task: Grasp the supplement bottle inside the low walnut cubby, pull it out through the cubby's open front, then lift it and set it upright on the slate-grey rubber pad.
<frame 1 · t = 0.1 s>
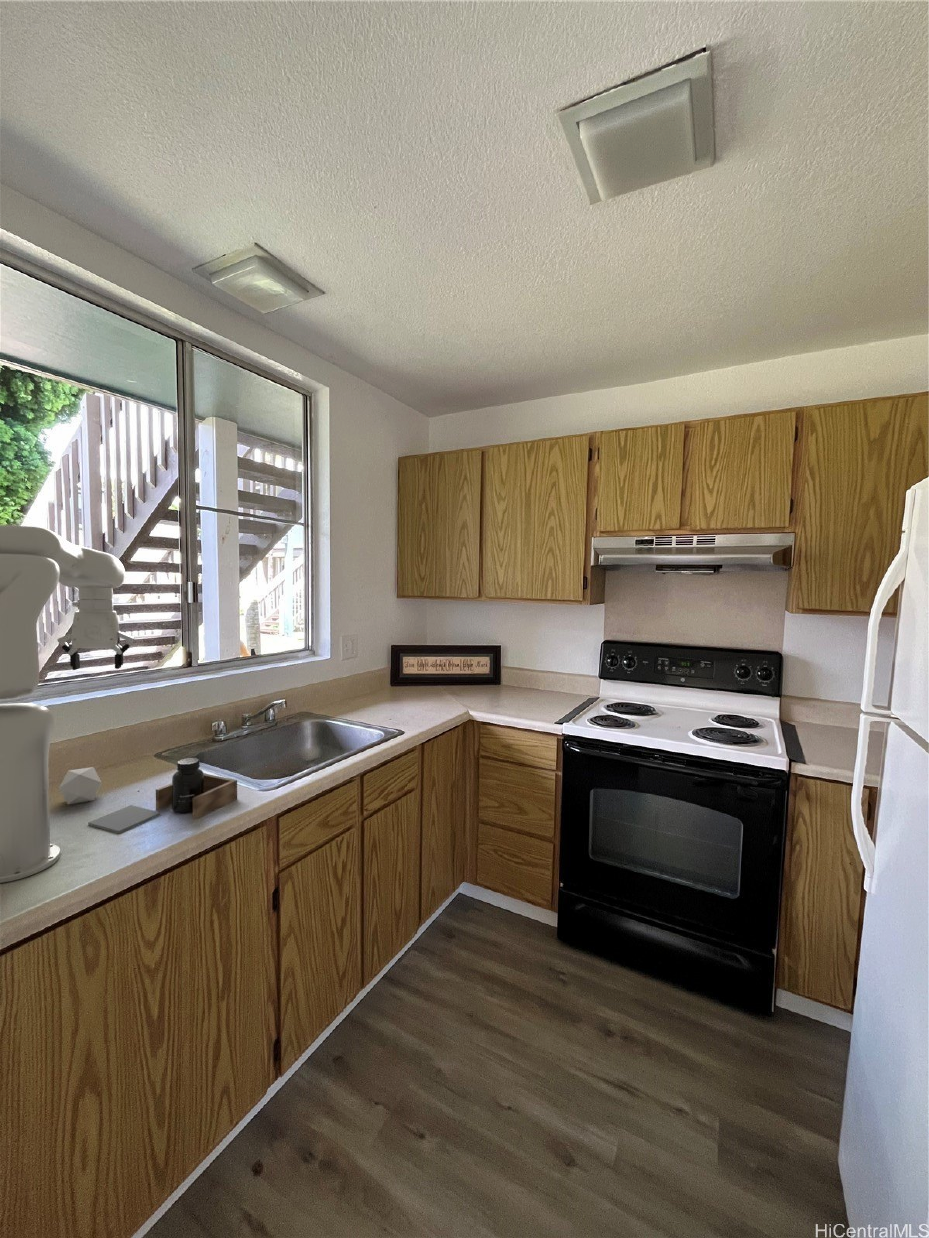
hand: (97, 668, 138), 31 cm above the worktop, tool pointing down, fingers open, 9 cm apart
supplement bottle: (188, 809, 124), on the worktop
cubby: (197, 804, 126), on the worktop
die: (81, 801, 127), on the worktop
pad: (125, 819, 117), on the worktop
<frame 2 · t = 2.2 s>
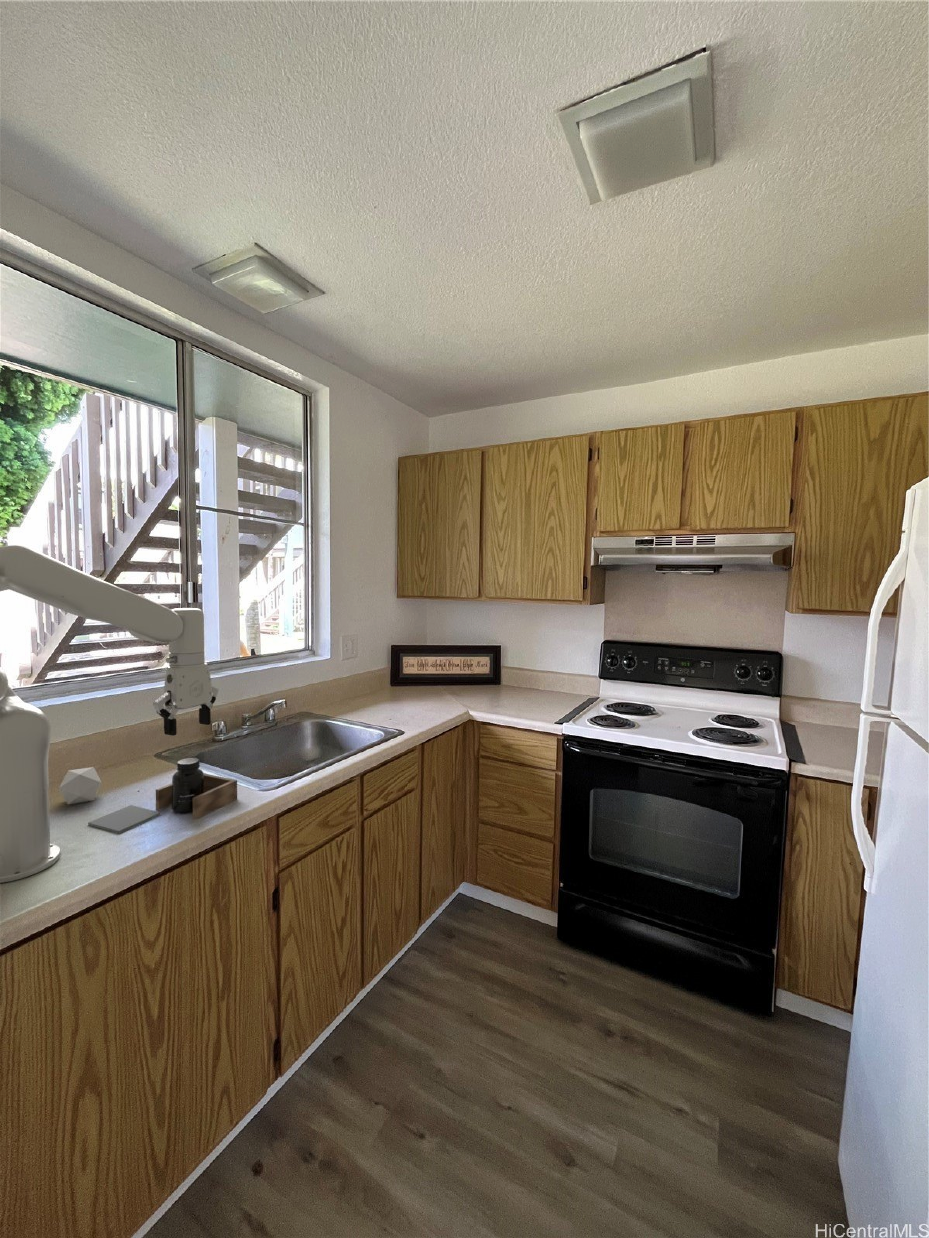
hand: (188, 729, 122), 20 cm above the worktop, tool pointing down, fingers open, 9 cm apart
nothing on the worktop moved.
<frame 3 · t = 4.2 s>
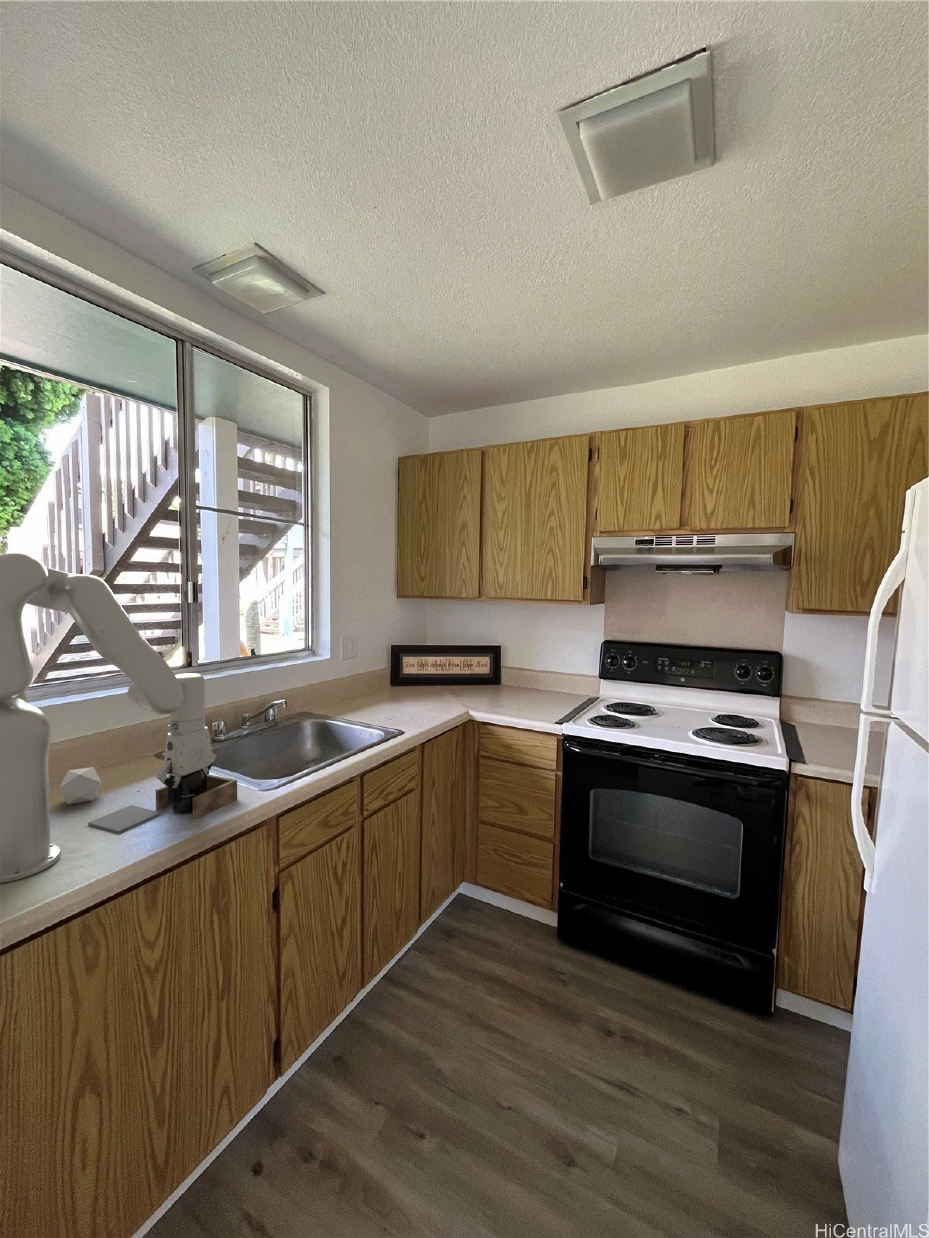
hand: (188, 795, 123), 3 cm above the worktop, tool pointing down, fingers closed on supplement bottle, 6 cm apart
supplement bottle: (188, 809, 123), on the worktop, touching gripper
everything else where it was.
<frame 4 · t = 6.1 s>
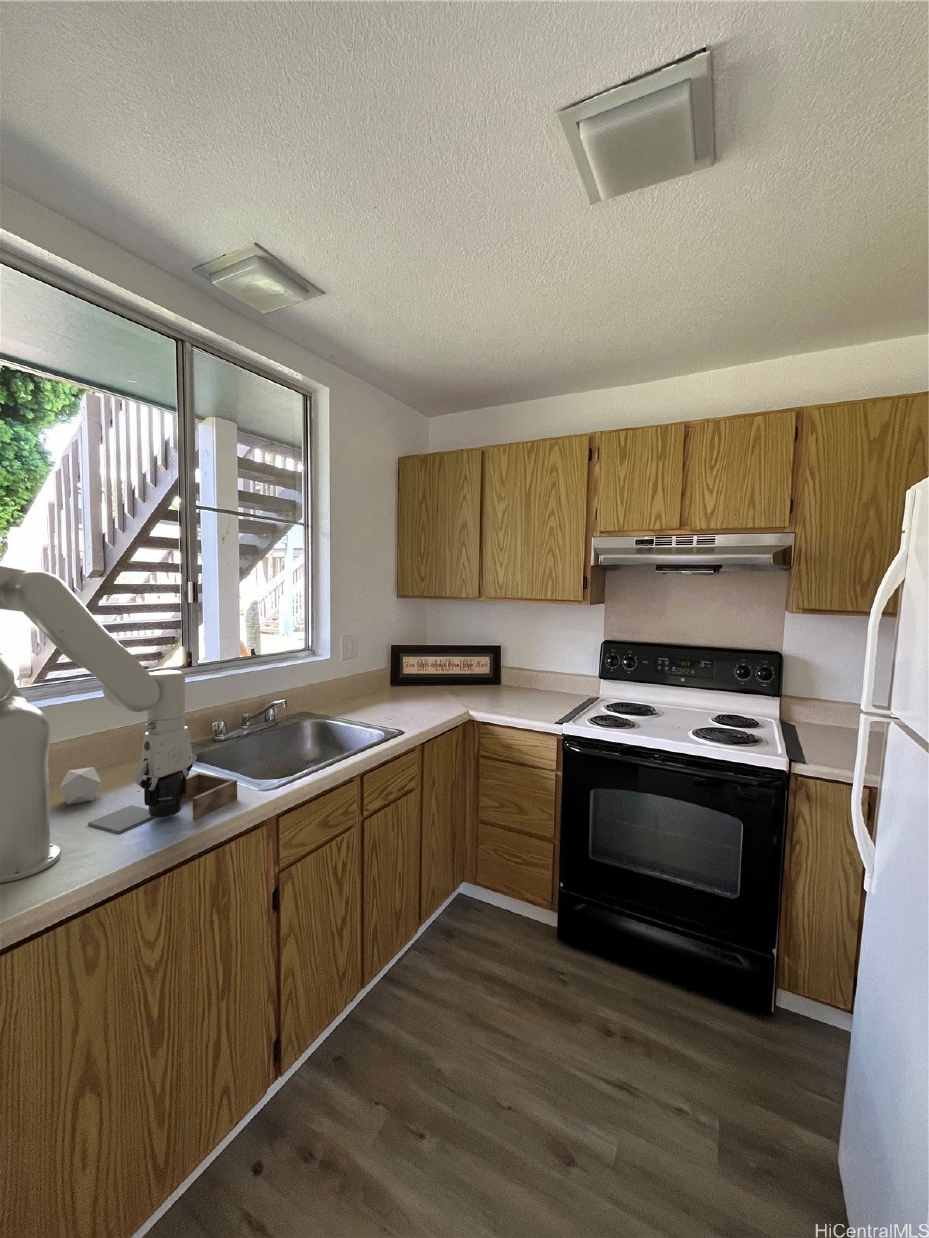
hand: (165, 798, 118), 5 cm above the worktop, tool pointing down, fingers closed on supplement bottle, 6 cm apart
supplement bottle: (165, 812, 118), point 1 cm above the worktop, touching gripper
everything else where it was.
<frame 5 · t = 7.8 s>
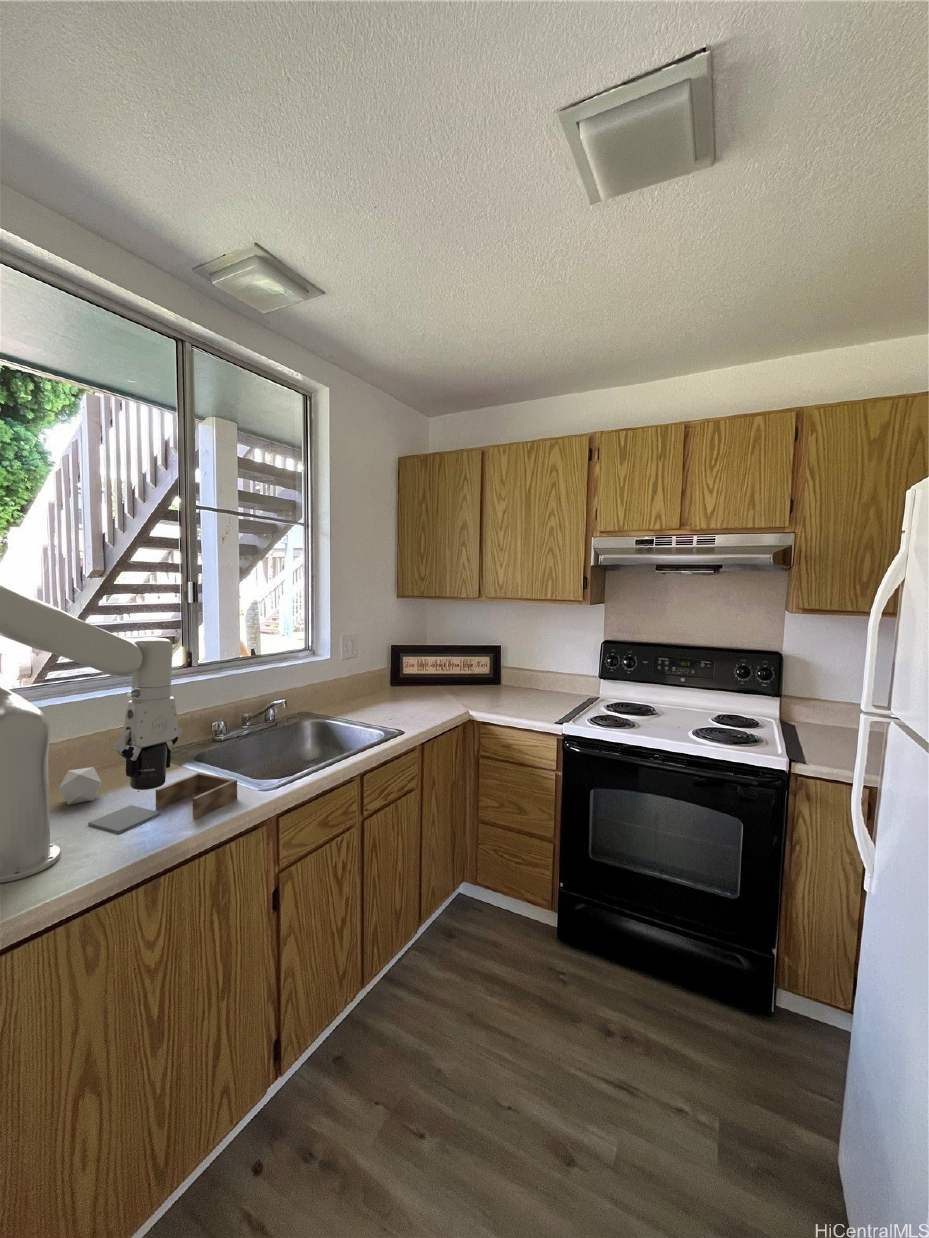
hand: (148, 770, 114), 13 cm above the worktop, tool pointing down, fingers closed on supplement bottle, 6 cm apart
supplement bottle: (148, 786, 114), point 9 cm above the worktop, touching gripper
everything else where it was.
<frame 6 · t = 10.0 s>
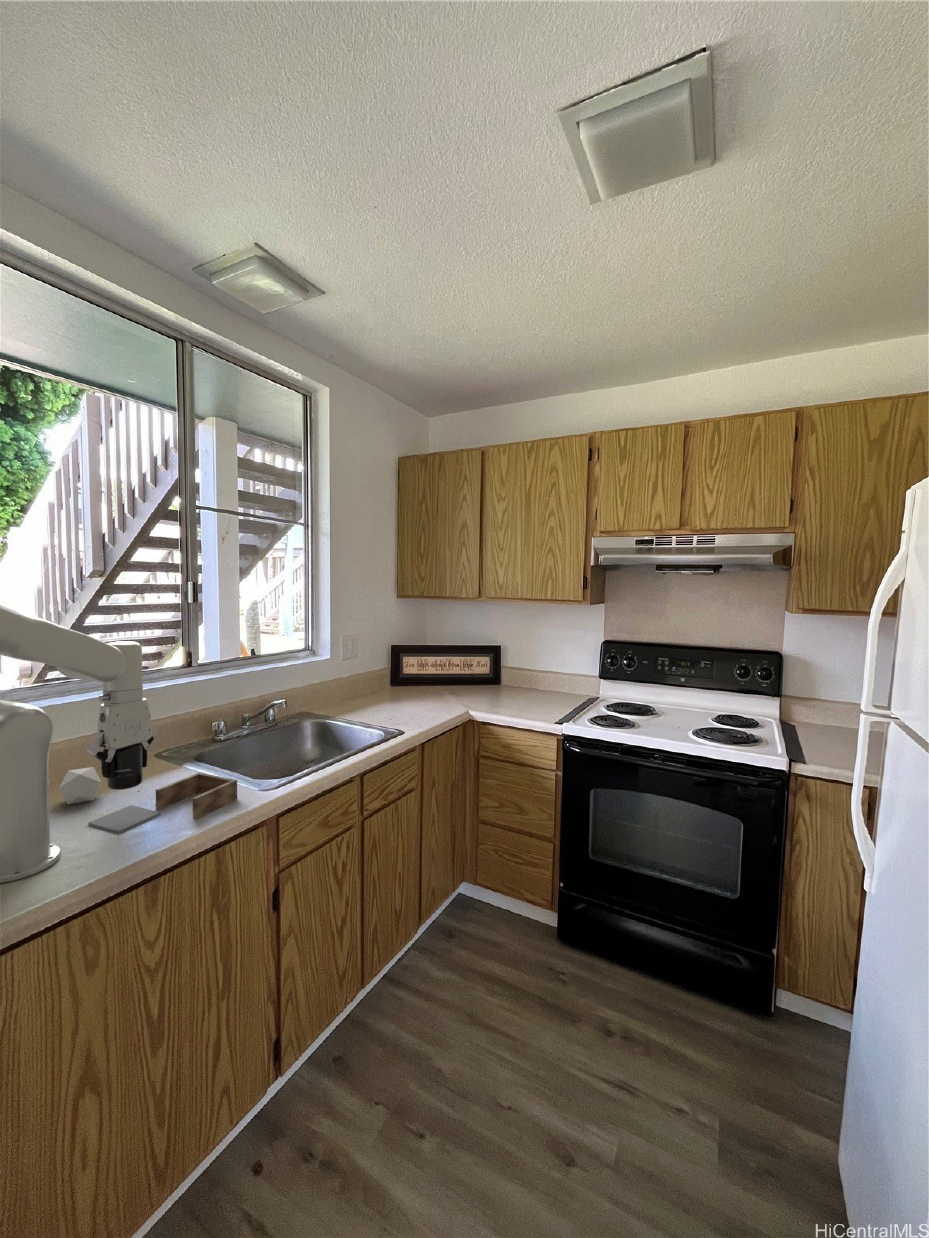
hand: (125, 771, 116), 11 cm above the worktop, tool pointing down, fingers closed on supplement bottle, 6 cm apart
supplement bottle: (125, 785, 117), point 8 cm above the worktop, touching gripper
everything else where it was.
when the fingers open (5 cm above the worktop, at t = 11.6 s): supplement bottle drops 1 cm, resting on pad.
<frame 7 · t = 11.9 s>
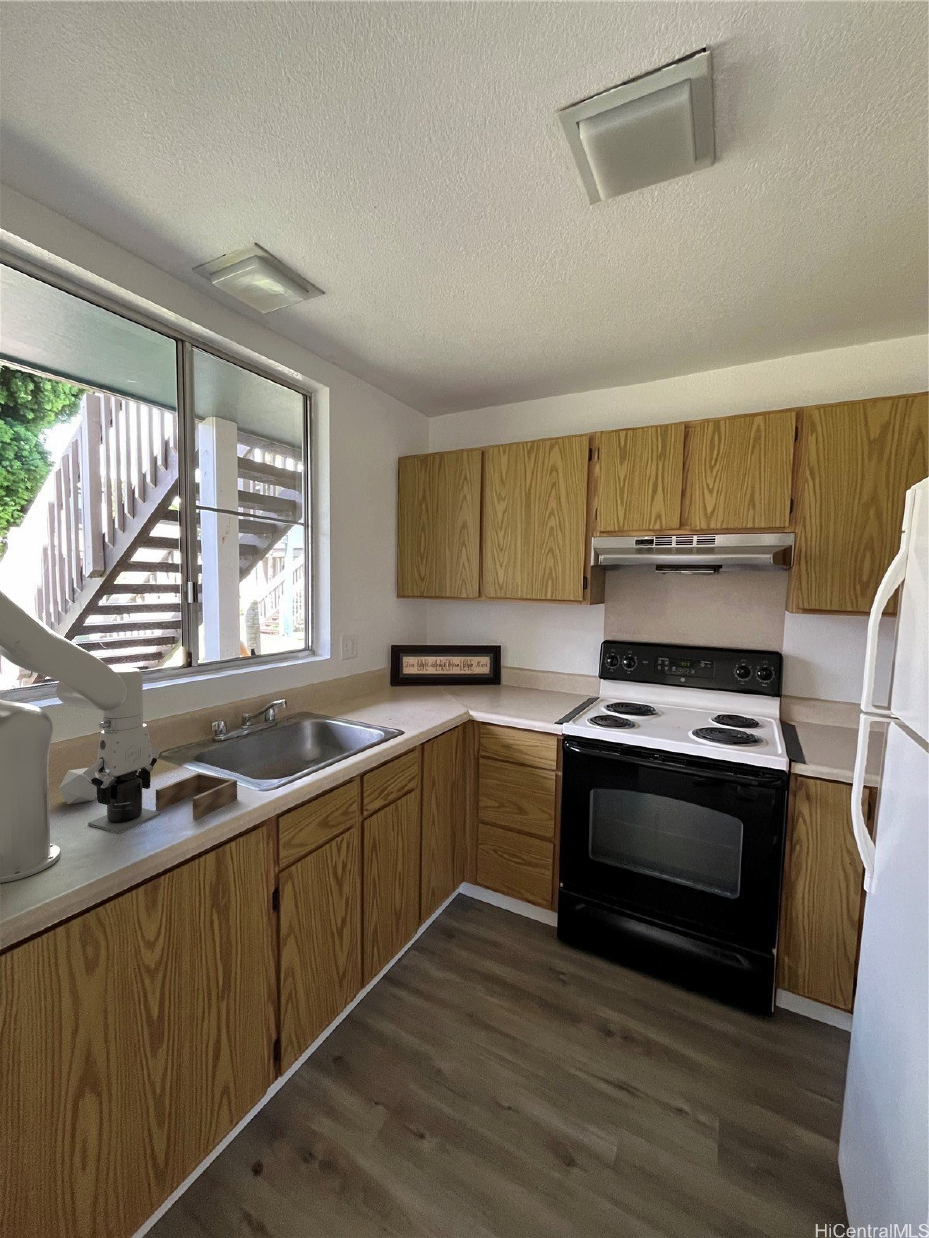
hand: (124, 795, 117), 6 cm above the worktop, tool pointing down, fingers open, 9 cm apart
supplement bottle: (125, 817, 117), resting on pad
everything else where it was.
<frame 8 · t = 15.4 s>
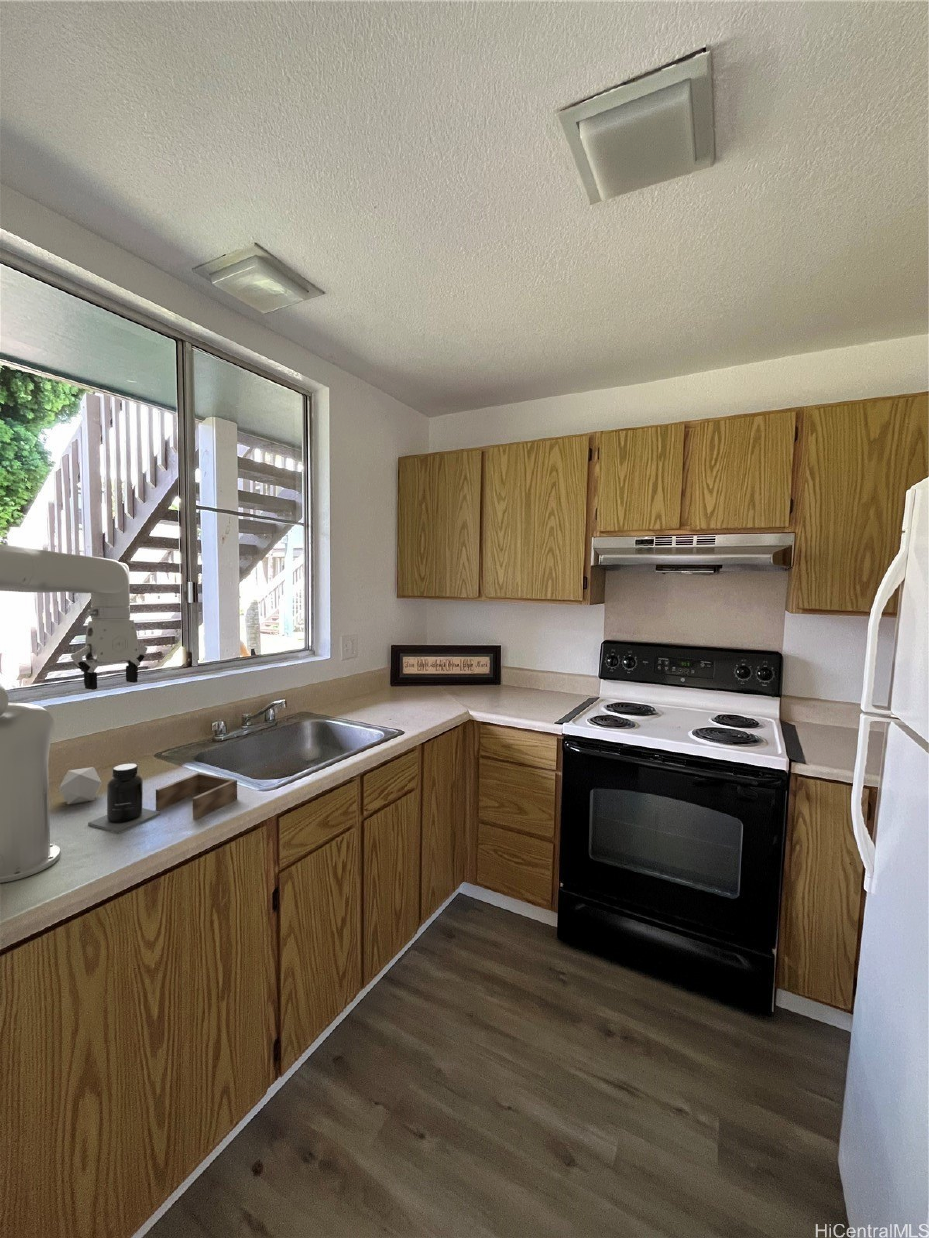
hand: (112, 685, 121), 30 cm above the worktop, tool pointing down, fingers open, 9 cm apart
nothing on the worktop moved.
at the end: supplement bottle 0.0 cm off-centre on the pad, point 0.4 cm above the pad's base; supplement bottle tilted 0°; the gripper is holding nothing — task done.
